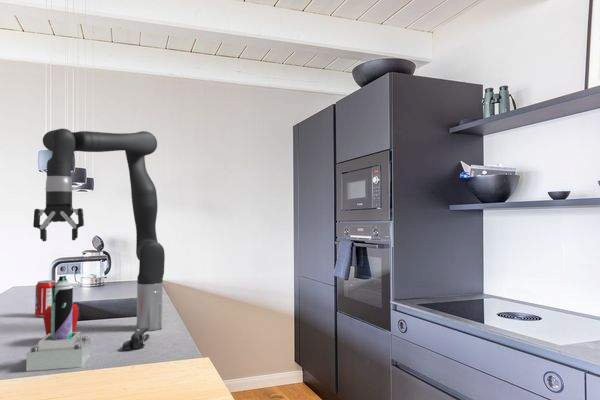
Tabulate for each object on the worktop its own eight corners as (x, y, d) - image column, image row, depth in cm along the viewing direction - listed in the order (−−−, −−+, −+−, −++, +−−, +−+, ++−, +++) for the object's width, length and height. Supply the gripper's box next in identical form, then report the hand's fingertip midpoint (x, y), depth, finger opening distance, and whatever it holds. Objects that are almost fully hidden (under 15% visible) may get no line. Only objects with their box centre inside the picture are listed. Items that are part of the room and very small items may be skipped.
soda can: (49, 318, 188) (49, 282, 189) (30, 317, 188) (31, 282, 189) (59, 314, 196) (60, 279, 197) (41, 314, 196) (42, 279, 197)
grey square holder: (90, 354, 137) (91, 329, 137) (81, 367, 126) (82, 340, 126) (40, 358, 134) (40, 332, 134) (26, 371, 122) (26, 343, 122)
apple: (72, 335, 160) (73, 297, 160) (82, 341, 152) (83, 301, 153) (39, 341, 152) (40, 301, 153) (48, 347, 145) (49, 305, 146)
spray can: (62, 348, 127) (64, 277, 128) (46, 346, 128) (47, 277, 129) (75, 342, 132) (77, 275, 133) (59, 341, 133) (61, 274, 134)
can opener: (142, 352, 140) (142, 334, 141) (119, 352, 140) (119, 334, 140) (157, 337, 158) (157, 321, 158) (137, 337, 158) (137, 321, 158)
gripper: (85, 191, 150) (85, 239, 150) (37, 191, 146) (37, 240, 145) (81, 190, 143) (81, 240, 142) (30, 190, 139) (30, 242, 138)
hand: (59, 240), depth 144 cm, fingers open, 8 cm apart
